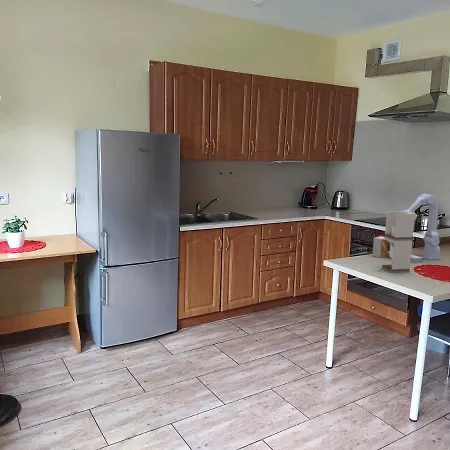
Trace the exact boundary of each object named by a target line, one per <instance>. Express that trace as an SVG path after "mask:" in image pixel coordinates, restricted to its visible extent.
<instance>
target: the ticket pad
mask: <svg viewBox="0 0 450 450" xmlns="http://www.w3.org/2000/svg"><path fill="white" fill-rule="evenodd" d="M423 260H424V258H422V257H421V256H418V255H414V254H411V261H410V263H413V264H420V263H423Z"/></svg>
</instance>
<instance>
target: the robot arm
mask: <svg viewBox="0 0 450 450" xmlns="http://www.w3.org/2000/svg"><path fill="white" fill-rule="evenodd" d="M421 206H427V207H428V208H429V209H428V217H427V219H428V221H427V231H425V233H424V237H423V242H424V249H423V250H424V252H423V256H420V257H422V258H423V259H426V260H429V261H430V260H431V261H433V260H440V259H441V258H440V255H441V253H440V252H441V248H440V246H439V244H440V236H439V235H440V234H439V233H438V232H437V230H438V229H437V228H438V216H439V202H438V198H437V197H436V196H435V195H434V194H428V193H421V194H420V195H419V196H418V197H417V199H416V200H415V201H414V203H412V205H410V206H409V207H408V209H404V210H403V211H405V212H410V213H414V212H415V211H416V210H418V208H420V207H421ZM390 243H391V242H390V241H389V242H388V245H390Z"/></svg>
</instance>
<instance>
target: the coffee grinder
mask: <svg viewBox="0 0 450 450" xmlns="http://www.w3.org/2000/svg"><path fill="white" fill-rule="evenodd" d="M415 217H416V213H414V212H413V213H410V212H405V211H404V210H400V211H399V210H391V211H390V210H386V219H385V229H384V237H385V239H384V240H387V241H390V242H391V243H390V244H389V251H390V257H391V258H390V257H389V258H390V259H392V260H391V264H382V266H381V268H382V270H385V271H387V272H389V273H392V274H397V273H398V274H399V273H400V274H401V273H402V274H403V273H410V271H411V270H410V267H411V262H410V261H411V255H412V250H413V241H414V240H413V238H414V229H415Z"/></svg>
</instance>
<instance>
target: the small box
mask: <svg viewBox="0 0 450 450" xmlns="http://www.w3.org/2000/svg"><path fill="white" fill-rule="evenodd" d="M384 239H385V236H376V237H373V243H372V244H373V245H372V255H373V256H372V255H371V256H372V257H374V256H376V257H375V258H378V257H379V258H380V259H381V258H388V257H387V253H388V251H389V250H388V249H389V244H388V242H389V241H387V240H384ZM379 258H378V259H379Z"/></svg>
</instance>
